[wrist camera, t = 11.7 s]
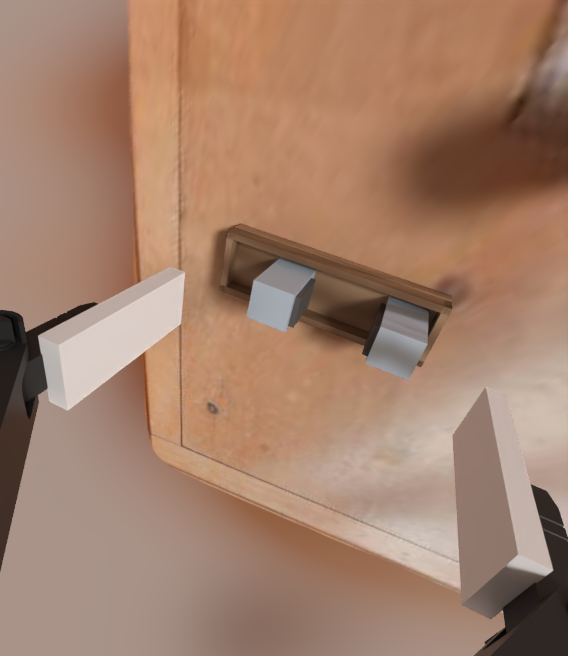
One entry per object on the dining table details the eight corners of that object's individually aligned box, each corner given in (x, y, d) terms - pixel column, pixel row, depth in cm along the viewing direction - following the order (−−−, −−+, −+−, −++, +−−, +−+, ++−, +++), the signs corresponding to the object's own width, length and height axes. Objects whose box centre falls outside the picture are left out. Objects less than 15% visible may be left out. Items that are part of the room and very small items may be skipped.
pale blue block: (280, 257, 44) (253, 280, 37) (320, 271, 43) (300, 297, 37) (273, 290, 46) (246, 317, 40) (311, 304, 46) (289, 334, 39)
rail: (240, 223, 46) (200, 243, 38) (451, 295, 41) (455, 335, 33) (231, 281, 50) (193, 309, 42) (421, 352, 45) (418, 400, 37)
